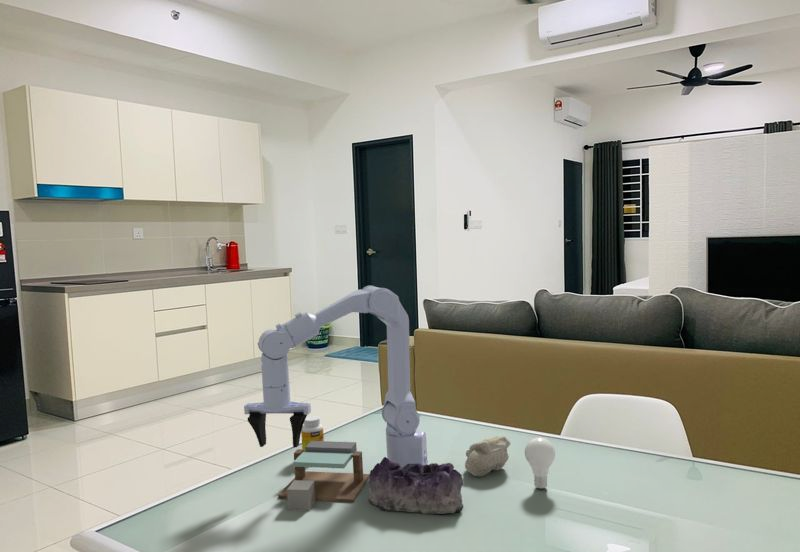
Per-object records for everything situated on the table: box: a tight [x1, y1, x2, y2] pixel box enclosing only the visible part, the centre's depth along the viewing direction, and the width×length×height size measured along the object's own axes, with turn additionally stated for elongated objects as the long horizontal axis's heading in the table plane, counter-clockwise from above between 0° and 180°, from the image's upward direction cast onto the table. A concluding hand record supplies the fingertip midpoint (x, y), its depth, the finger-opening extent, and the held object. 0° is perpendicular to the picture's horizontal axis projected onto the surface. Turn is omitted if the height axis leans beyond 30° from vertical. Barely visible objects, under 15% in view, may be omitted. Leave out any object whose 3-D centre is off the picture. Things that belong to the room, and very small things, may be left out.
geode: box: [367, 456, 464, 515], centre depth 121 cm, size 20×12×10 cm, turn 81°
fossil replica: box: [464, 435, 511, 478], centre depth 136 cm, size 12×8×10 cm
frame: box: [277, 448, 370, 503], centre depth 131 cm, size 17×13×7 cm
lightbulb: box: [524, 436, 556, 490], centre depth 126 cm, size 6×6×11 cm
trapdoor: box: [292, 440, 358, 470], centre depth 133 cm, size 12×11×2 cm
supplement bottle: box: [300, 415, 325, 452], centre depth 149 cm, size 6×6×10 cm
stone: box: [286, 480, 317, 512], centre depth 123 cm, size 4×4×4 cm
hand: (279, 445), depth 129 cm, fingers open, 7 cm apart
